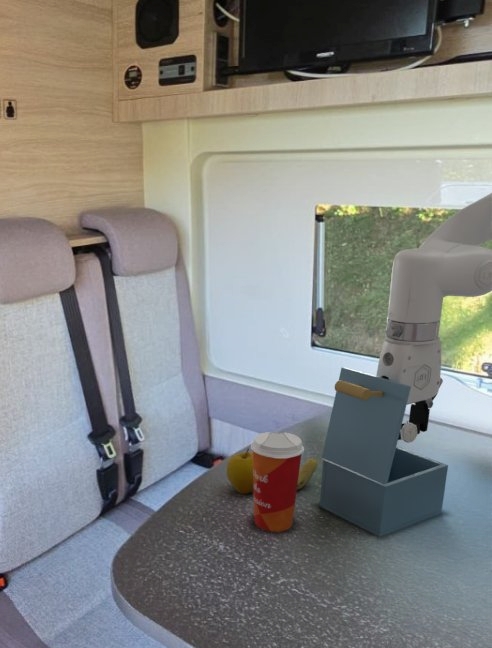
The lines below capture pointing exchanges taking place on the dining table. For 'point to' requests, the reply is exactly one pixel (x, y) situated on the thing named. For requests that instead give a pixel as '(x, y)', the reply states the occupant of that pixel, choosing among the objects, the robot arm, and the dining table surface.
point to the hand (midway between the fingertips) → (399, 434)
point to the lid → (365, 423)
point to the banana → (306, 472)
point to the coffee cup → (275, 479)
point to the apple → (241, 472)
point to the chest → (386, 493)
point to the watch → (409, 431)
